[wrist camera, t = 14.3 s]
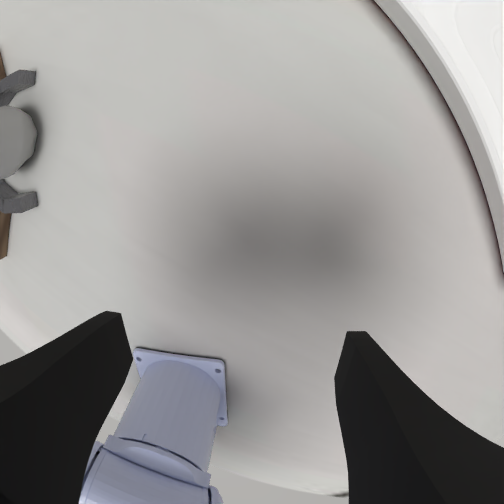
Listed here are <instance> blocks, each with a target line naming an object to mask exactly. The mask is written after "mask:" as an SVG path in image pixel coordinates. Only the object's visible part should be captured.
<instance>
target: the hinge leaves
mask: <svg viewBox="0 0 504 504" xmlns="http://www.w3.org/2000/svg"><path fill="white" fill-rule="evenodd" d="M5 77H6V74H5V70H4V66H3V62H2V58H1V54H0V80H2V79H3V78H5ZM10 219H11V213H7V214H4V213H2V212H1V211H0V260H1V259H2V258H4V257H5V256H7V246H8V235H9V226H10Z"/></svg>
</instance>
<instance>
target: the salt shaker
mask: <svg viewBox="0 0 504 504" xmlns="http://www.w3.org/2000/svg"><path fill="white" fill-rule="evenodd" d="M37 134H38V133H37V130H36V128H35V125H34V123H33V120H32V117H31V116H30V115H28V114H27V113H25V112H23V111H22V110H20V109H19V108H15V107H11V106H6V105H5V106H2V107H0V179H4V178H6V177H9V176H11V175H13V174H14V173H15V172H16V171H17V170H18V169H19V168H20V166H21V165H22V164H23V163H24V162H25V161H26V160H27V159H28V158H30V157H31V156H32V155H33V153H34V148H35V143H36V138H37Z"/></svg>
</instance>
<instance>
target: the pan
mask: <svg viewBox="0 0 504 504" xmlns="http://www.w3.org/2000/svg"><path fill="white" fill-rule="evenodd" d="M374 1H375V2H376V3H377V4H378V5H379V6H380V8H381V9H382V10H383V11H384V12H385V13H386V14H387V16H388V17H389V18H390V19H391V20H392V22H393V23H394V24H395V25H396V27H397V28H398V29H399V30H400V32H401V33H402V34H403V36H404V37H405V38H406V40H407V41H408V42H409V44H410V45H411V46H412V48H413V49H414V51H415V52H416V53H417V55H418V56H419V58H420V59H421V61H422V62H423V64H424V65H425V67H426V68H427V70H428V71H429V73H430V75H431V76H432V78H433V79H434V81H435V83H436V84H437V86H438V88H439V90H440V91H441V93H442V95H443V97H444V98H445V100H446V102H447V104H448V106H449V108H450V109H451V111H452V113H453V115H454V117H455V119H456V121H457V123H458V125H459V127H460V129H461V132H462V134H463V136H464V138H465V140H466V143H467V145H468V147H469V150H470V152H471V155H472V157H473V160H474V162H475V165H476V168H477V170H478V173H479V176H480V179H481V182H482V185H483V188H484V191H485V194H486V197H487V201H488V204H489V207H490V211H491V215H492V218H493V222H494V226H495V230H496V235H497V239H498V244H499V248H500V254H501V259H502V265H503V271H504V0H374Z"/></svg>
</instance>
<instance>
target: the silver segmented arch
mask: <svg viewBox="0 0 504 504" xmlns="http://www.w3.org/2000/svg"><path fill="white" fill-rule="evenodd" d="M35 74H36V71H27V70H18V71H16V72H14V73H12V74H10V75H9V76H7V77H5V78H3V79H2V80H0V107H2V106H5V105H6V106H7V105H8V104H9V102H10V101H11V99H12V98H13V97H14V95H15V94H16V93H17V92H19V91H22V90H24V89H26V88H28V87H31V86H33V85H34V84H35ZM37 206H38V202H37V194H36V192H29V193H20V194H18V193H17V192H16V191H15V190H14V189H12V188H11V187H10V186H9V185H8V184H6V183H5V181H4V179H0V211H1V212H2V213H4V214H7V213H23V212H25V211H27V210H30V209H32V208H34V207H37Z"/></svg>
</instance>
